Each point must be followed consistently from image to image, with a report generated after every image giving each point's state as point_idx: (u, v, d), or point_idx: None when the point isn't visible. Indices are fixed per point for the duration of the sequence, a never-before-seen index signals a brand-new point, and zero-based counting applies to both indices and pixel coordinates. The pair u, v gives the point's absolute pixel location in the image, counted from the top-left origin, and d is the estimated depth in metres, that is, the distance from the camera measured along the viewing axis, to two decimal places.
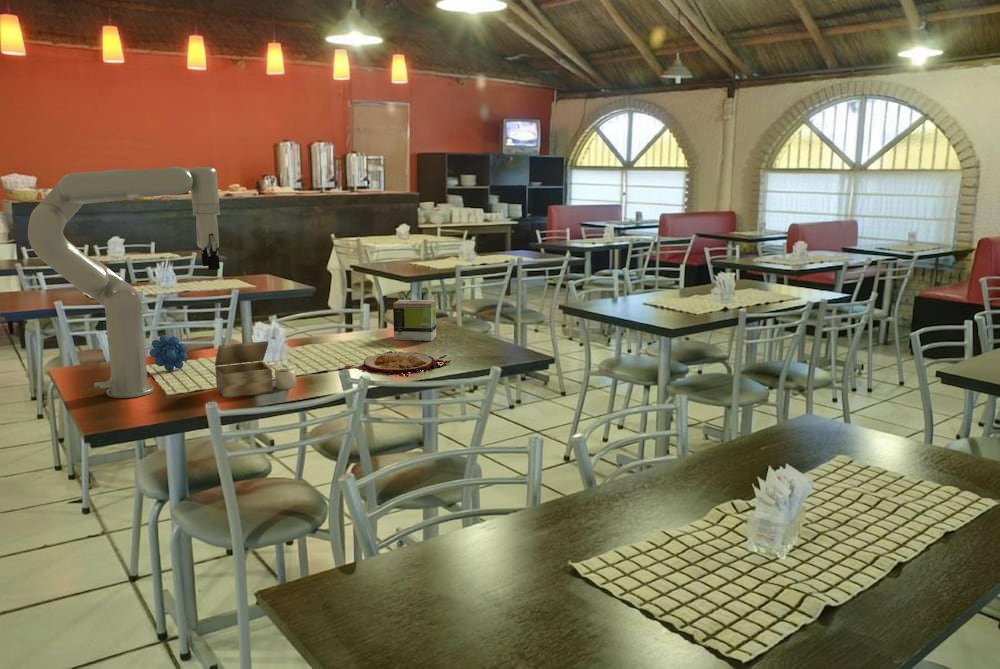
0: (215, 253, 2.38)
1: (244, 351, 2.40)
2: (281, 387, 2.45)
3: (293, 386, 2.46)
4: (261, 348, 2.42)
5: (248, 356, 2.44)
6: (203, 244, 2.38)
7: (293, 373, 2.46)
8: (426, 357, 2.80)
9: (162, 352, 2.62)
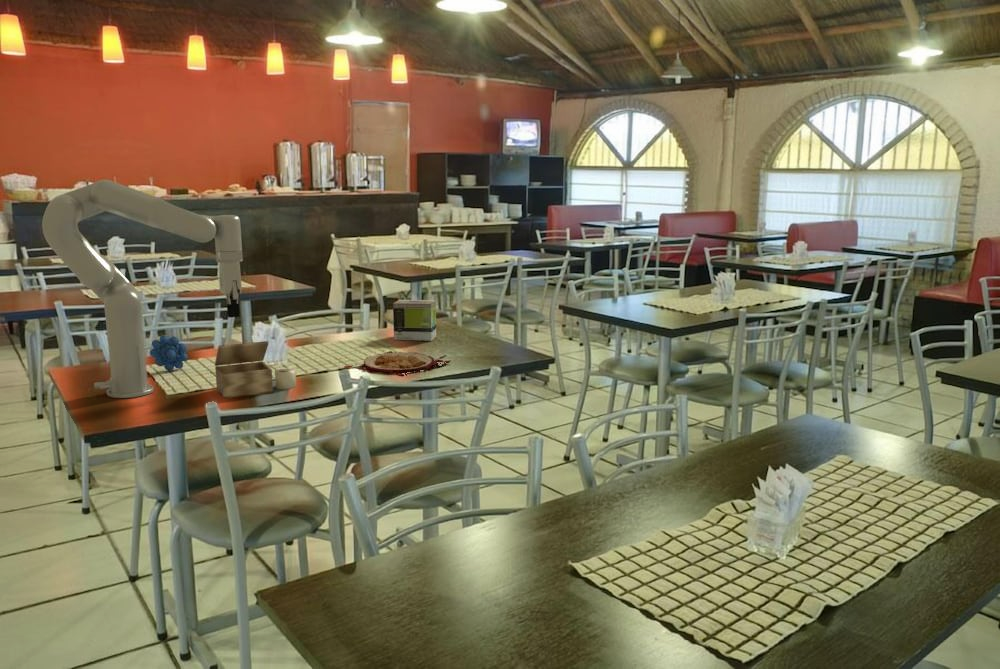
0: (235, 302, 2.46)
1: (244, 351, 2.40)
2: (281, 387, 2.45)
3: (293, 386, 2.46)
4: (261, 348, 2.42)
5: (248, 356, 2.44)
6: (226, 291, 2.42)
7: (293, 373, 2.46)
8: (426, 357, 2.80)
9: (162, 352, 2.62)
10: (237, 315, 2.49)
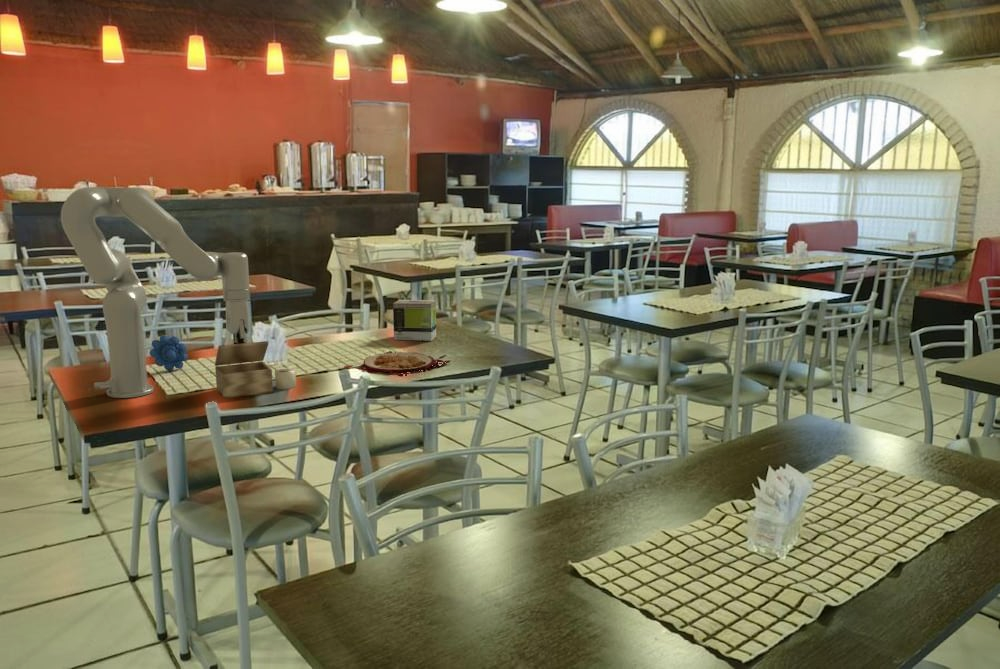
0: (242, 340, 2.42)
1: (244, 351, 2.40)
2: (281, 387, 2.45)
3: (293, 386, 2.46)
4: (261, 348, 2.42)
5: (248, 356, 2.44)
6: (233, 330, 2.37)
7: (293, 373, 2.46)
8: (426, 357, 2.80)
9: (162, 352, 2.62)
10: None
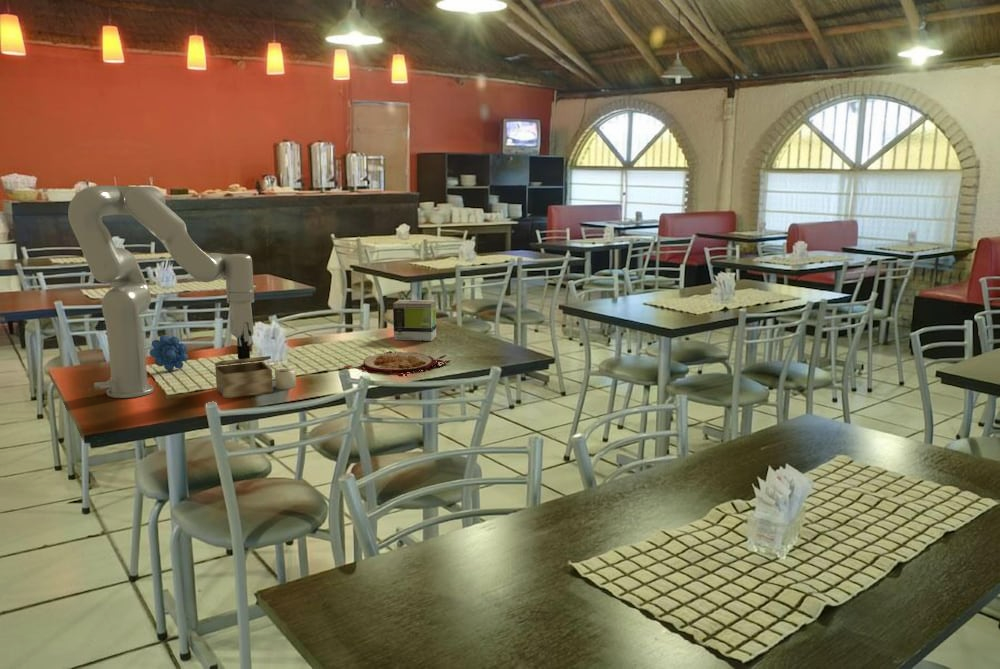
0: (246, 344, 2.37)
1: None
2: (281, 387, 2.45)
3: (293, 386, 2.46)
4: None
5: None
6: (237, 333, 2.33)
7: (293, 373, 2.46)
8: (426, 357, 2.80)
9: (162, 352, 2.62)
10: (248, 357, 2.40)
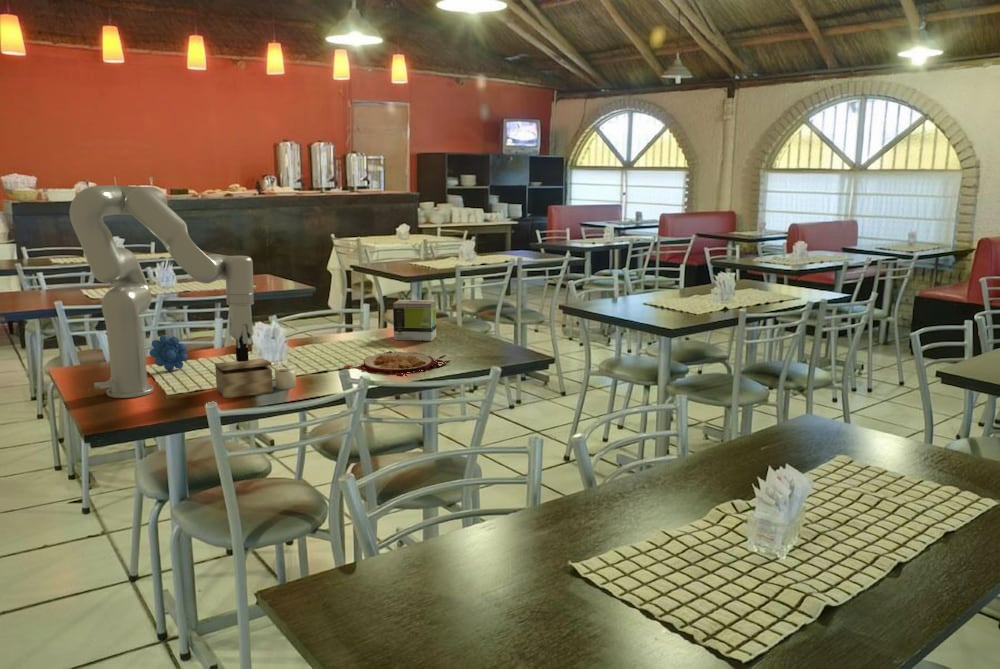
0: (245, 346, 2.37)
1: None
2: (281, 387, 2.45)
3: (293, 386, 2.46)
4: None
5: None
6: (236, 335, 2.32)
7: (293, 373, 2.46)
8: (426, 357, 2.80)
9: (162, 352, 2.62)
10: (246, 359, 2.39)
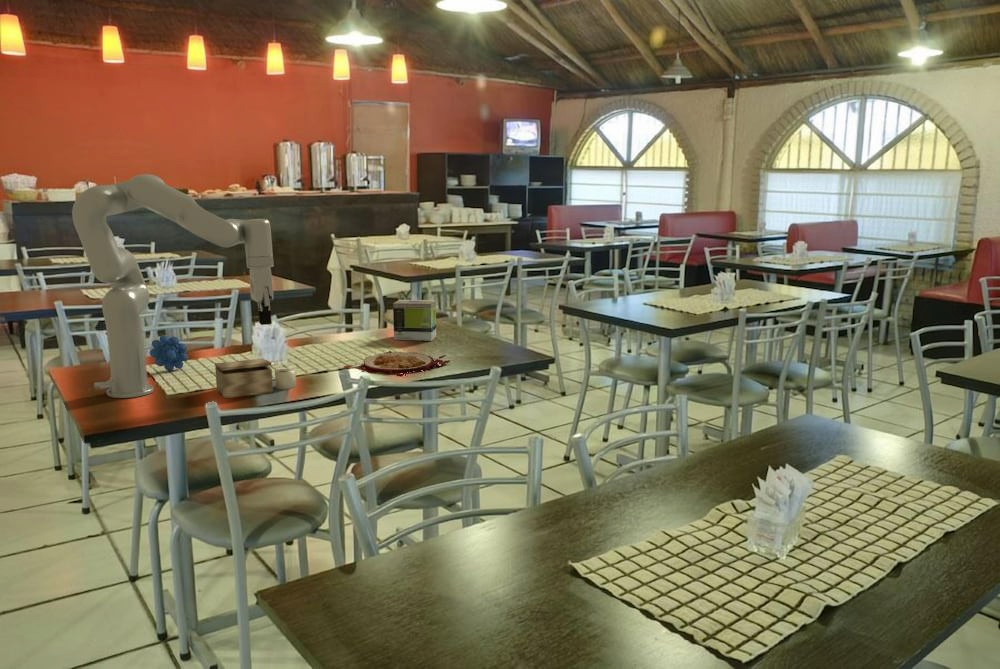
0: (267, 308, 2.38)
1: None
2: (281, 387, 2.45)
3: (293, 386, 2.46)
4: None
5: None
6: (258, 297, 2.33)
7: (293, 373, 2.46)
8: (425, 357, 2.80)
9: (162, 352, 2.62)
10: (269, 322, 2.40)
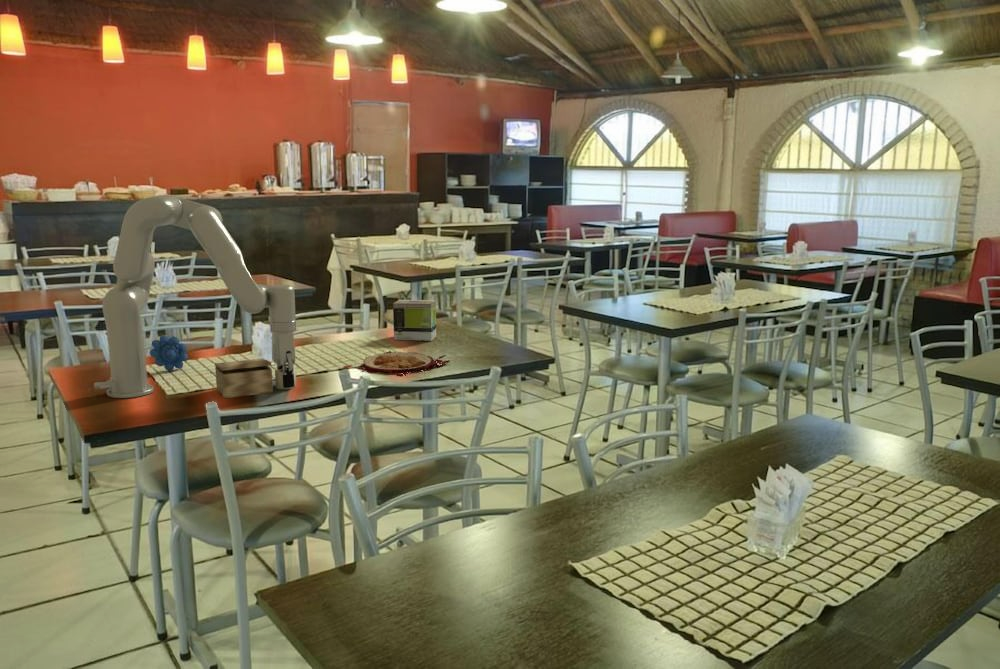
0: (291, 372, 2.43)
1: None
2: (281, 387, 2.45)
3: None
4: None
5: None
6: (280, 362, 2.41)
7: None
8: (425, 357, 2.80)
9: (162, 352, 2.62)
10: (292, 385, 2.45)
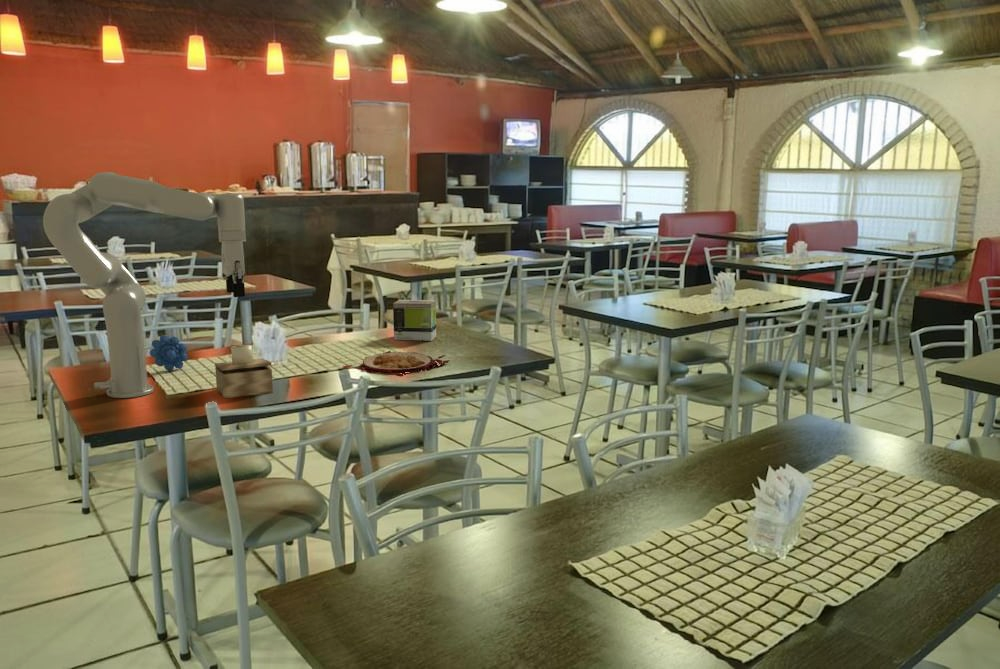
0: (241, 280, 2.35)
1: None
2: (237, 362, 2.38)
3: (250, 361, 2.40)
4: None
5: None
6: (229, 271, 2.35)
7: (250, 348, 2.40)
8: (425, 357, 2.80)
9: (162, 352, 2.62)
10: (242, 295, 2.38)
